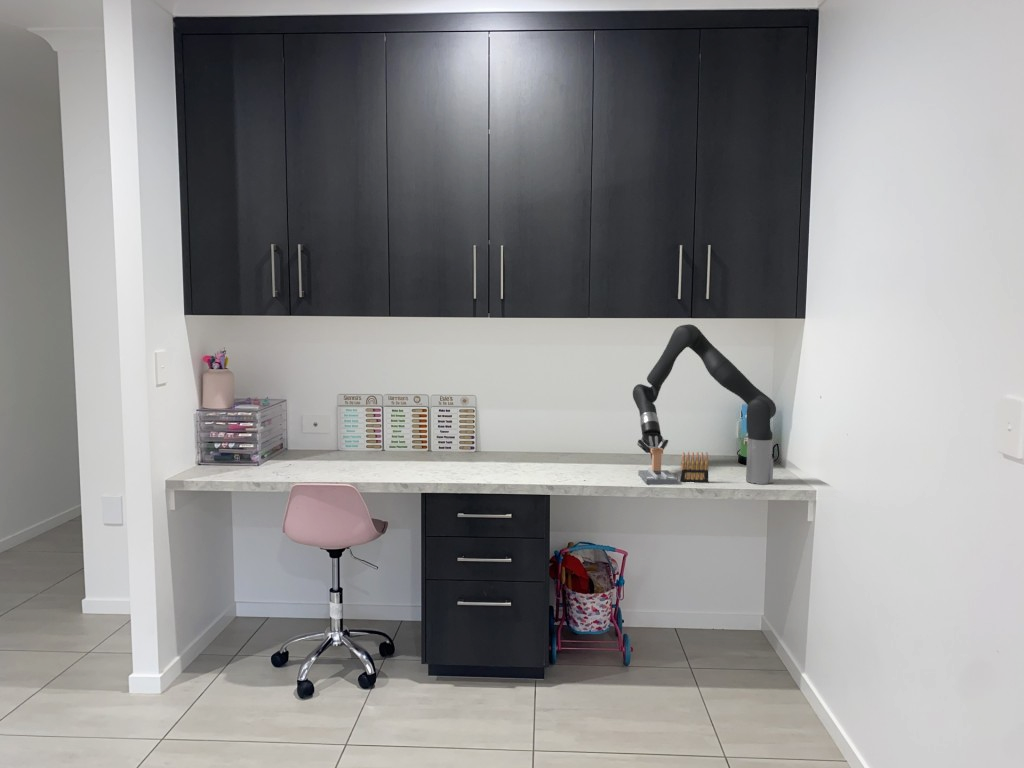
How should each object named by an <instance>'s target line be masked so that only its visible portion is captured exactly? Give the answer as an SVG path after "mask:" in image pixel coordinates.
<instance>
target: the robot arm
mask: <svg viewBox="0 0 1024 768" xmlns="http://www.w3.org/2000/svg"><path fill="white" fill-rule="evenodd" d="M687 348H689V349H691V351H693V352H694V353H695V354H696V355H697V356H698V357H699V358H700V359H701V361H702V362H703V365H704V367H705V369H706V371H707V372H708V373H709V375H710V377H712V378H713V379H714V380H715V381H716V382H717V383H718V384H719V385H720V386H722V387H723V388H724V389H726V390H728V391H729V392H731V393H733V394H735V395H736V396H737V397H739V398H740V399H741V400H742V401H743V402H744V403H745V404H746V405H747V407H746V415H745V416H746V419H745V422H746V425H745V428H746V433H747V442H746V443H747V446H746V447H747V449H746V468H745V469H746V470H745V471H746V472H745V481H746V482H747V481H748V482H747V483H749V482H751V483H750V484H754V483H756V484H755V485H767V484H773V477H774V475H773V474H774V458H772V457H773V455H772V454H773V435H774V434H773V431H772V430H771V419H772V418H773V417H775V415H776V412H777V406H776V403H775V402H774V400H772V399H771V398H770V397H769V396H768V395H766V394H765V393H764V392H762V391H761V389H758V387H756V386H755V385H754V384H753V383H752V382H751V381H750V380H749V378H748V377H746V375H745V374H744V373H742V371H741V370H739V369H738V368H737V367H736V365H734V363H732V361H731V360H730V359H728V358H727V357H726V356H725V355H724V354H723V353H722V352H721V351H720V350H718V348H716V347H715V346H714V345H713V344H712V343H711V342H710V341H709V340H708V339H707V338H706V335H704V333H703V332H702V331H701V330H700V329H699V327H697V326H695V325H694V324H683V325H679V326H677V327H675V329H674V330H673V331H672V334H671V336H670V338H669V341H668V342H667V345H666V347H665V349H664V350H663V352H662V354H661V356H660V357H659V359H658V360H657V362H656V363H655V364H654V366H653V367H652V368H651V370H650V372H649V373H648V375H647V377H646V380H647V382H648V384H650V385H651V386H648V385H646V384H642V383H640V384H636V385H635V386H633V387H634V388H633V389H632V398H633V401H634V403H635V405H636V407H637V409H638V411H639V412H638V413H639V417H640V419H639V420H640V421H639V422H640V423H639V424H640V429H641V435H642V437H641V439H638V440H637V444H636V445H637V446H638V447H640V449H642V450H643V451H644V452H645V453H646V454H650V458H651V460H652V453H651V448H662V449H663V451H664V450H665V449H666V448H667V446H668V443H669V440H668V439H664V437H663V436H662V433H661V432H662V431H661V427H660V426H661V425H660V421H659V417H658V414H657V413H658V412H657V407H656V405H655V402H656V401H657V399H658V397H659V393H660V391H661V388H662V386H663V384H664V383H665V381H666V380H667V379H668V377H669V375H670V374H671V372H672V370H673V367H674V365H675V362H676V360H677V358H678V357H679V356H680V354H682V352H683V351H684V350H685V349H687ZM660 444H661V445H660ZM659 446H660V447H659Z"/></svg>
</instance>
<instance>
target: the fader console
mask: <svg viewBox="0 0 1024 768" xmlns="http://www.w3.org/2000/svg"><path fill="white" fill-rule="evenodd" d="M639 476H640V477H641V478H642V479H641V478H640V477H639ZM638 477H639V478H640V479H641V480H642V481H643V482H644V483H645V485H678V480H679V479H678V478H677V477H675V475H674V474H672V472H670V471H669V470H668V469H667V470H666V469H664V470H662V469H661V471H660V474H655V473H654V472H653V470H652V468H651V467H648V468H647V470H645V469H643V470H642V469H639V470H638Z"/></svg>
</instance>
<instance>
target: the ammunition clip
mask: <svg viewBox="0 0 1024 768" xmlns="http://www.w3.org/2000/svg"><path fill="white" fill-rule="evenodd" d="M699 454H700V456H699ZM679 482H680V483H686V482H694V484H695V483H696V484H709V455H708V452H705V456H704V453H703V451H701V453H699V452H698V451H697V452H696V455H695V453H694V451H692V452H691V455H690V452H689V451H687V453H686V454H685V451H683V452H682V454H681V461H680V479H679Z"/></svg>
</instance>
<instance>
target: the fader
mask: <svg viewBox="0 0 1024 768" xmlns="http://www.w3.org/2000/svg"><path fill="white" fill-rule="evenodd" d="M651 453H652V459H651V470H653V472H654V473H655V474H660V471H661V470H662V455H663V454H664V450H663V449H662V448H660V447H658V448H651Z"/></svg>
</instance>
